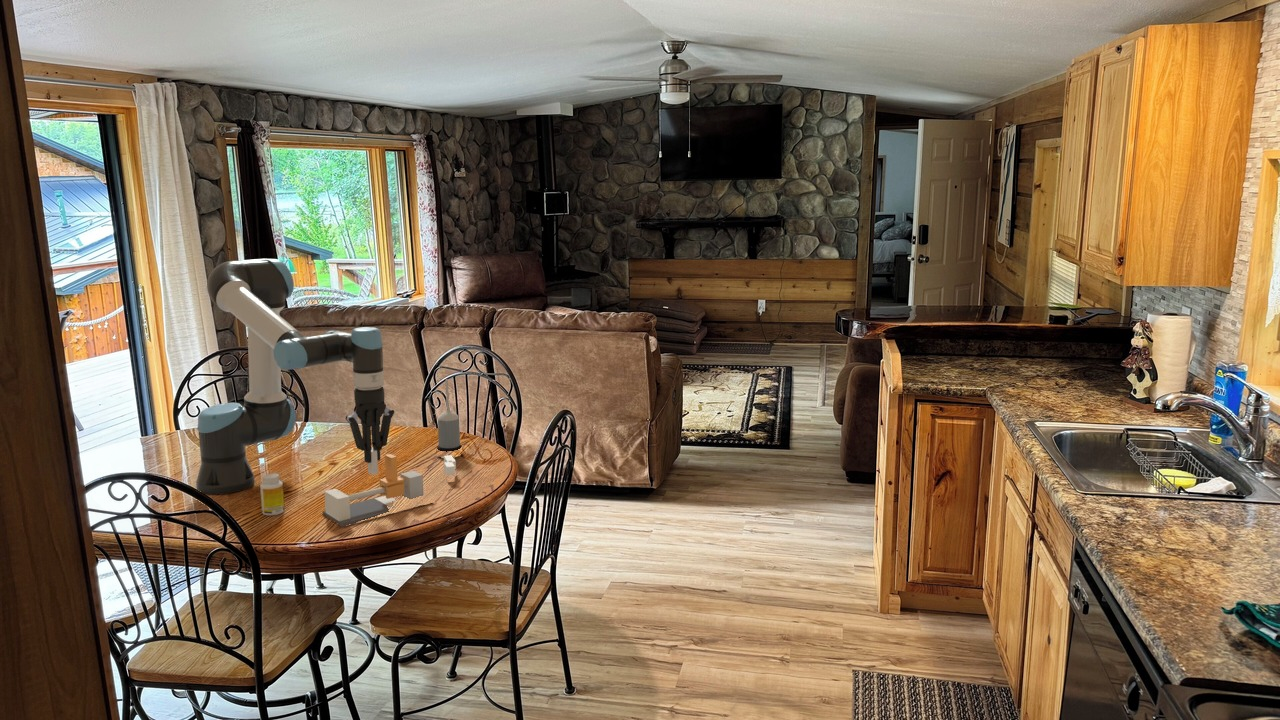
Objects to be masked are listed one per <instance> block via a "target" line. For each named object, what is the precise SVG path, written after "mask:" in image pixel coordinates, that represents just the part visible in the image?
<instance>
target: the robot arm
mask: <svg viewBox="0 0 1280 720" xmlns="http://www.w3.org/2000/svg"><path fill="white" fill-rule="evenodd" d="M293 278H294V277H293V275H292V273H291V270H290V269H289V268H288V266H287V264H286V263H285V262H283V261H281V260H280V259H277V258H254V259H243V260H229V261H225V262H222V263H219V264H218V265H217V266H216V267H214V268H213V269H212V271H211V272H210V273H209V275H208V278H207V280H206V289H207V290H206V291H207V294H208V296H209V299H210V300H211V302H213V304H214V305H216V306H217V308H219V309H220V310H221V311H223V312H226V313H231V314H232V315H233V316H234V317H235V318H236V319H238V320H239V321H240V322H241V323H242V324H244V326H245V327H247V349H248V350H247V351H248V385H249V387H248V389H249V391H248V392H247V393H246V394H245V395H244V397H243V405H242V404H241V403H239V402H226V403H219V404H215V405H211V406H209V407H206V408H204V409H203V410H201V411H200V412H199V414H198V416H197V431H198V440H199V452H200V466H199V469H198V473H197V478H196V481H195V483H196V484H195V485H196V491H197V490H199V491H201V492H202V493H201V494H205V495H226V494H232V493H233V494H234V493H237V492H241V491H245V490H247V489H249V488H251V487H253V486H254V485H255V483H256V481H255V475H254V472H253V470H252V467H251V465H250V463H249V461H248V459H247V452H246V451H247V450H246V447H248V446H252V445H257V444H259V443H265V442H269V441H275V440H278V439H280V438H283V437H286V436H288V435H289V434H290V433H291V432H292V431H293V429H294V428H295V425H296V420H297V419H296V418H297V416H296V410H295V408H294V404H293V402H292V401H291V400H290V399H289V398H288V397H287V396H288V395H287V394H285V392H283V391H282V378H281V377H282V370H284V371H285V370H286V371H288V370H289V371H290V370H300V369H303V368H309V367H314V366H319V365H326V364H331V363H338V362H349V363H352V373H353V387H355V388H354V389H353V391H354V392H353V394H354V396H353V397H354V403H355V405H354V407H353V411H352V413H351V414H350V415H346V416H345V420H346V421H347V422H348V424H349V427H350V429H351V433H352V436H353V440H354V443H355V446H356V449H357V450H360V451H363V456H364V462H365V463H367V473H368V474H369V475H371V476H374V475H379V466H378V465H379V464H378V462H379V461H381V451H382V449H383V447H385V446H387V445H388V438H389V433H390V427H391V421H392V418H393V416H394V415H395V410H394V409H392V408H388V407H387V405H386V403H385V388H384V385H385V381H384V380H385V378H384V355H383V354H384V353H383V349H384V348H383V347H384V346H383V345H384V343H383V337H382V331H381V329H379V328H377V327H368V326H365V327H355V328H353V329H352V330H351V332H346V331H342V330H330V331H326V332H325V333H324V334H319V335H312V336H305V335H303V333H302V332H300V331H299V330H297V328H295V327H294V326H293V325H292V324H290V323H289V322H288V321H287V320H285V319H284V318H283V317H282V316H281V315H280V312H281V311H282V310H283V309H284V308H285V307H286V299H288V298H290V297H291V296H292V295H293V292H294V289H295V285H294V279H293ZM381 418H382V419H381ZM358 419H359V420H360V424H361V429H360V425H359V423H358Z"/></svg>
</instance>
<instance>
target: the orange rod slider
mask: <svg viewBox="0 0 1280 720" xmlns="http://www.w3.org/2000/svg"><path fill="white" fill-rule="evenodd" d="M384 466H385V469H384V470H385V477H384V478H381V479H379V488H381V487H386V492H385V493H381V494H379V495H380V497H381V496H385V495H386V498H387V499H389V498H393V497H397V496H401V495H404V479H403V478H401V476H398V458H397V456H396V455H394V454H391V453H388V454H384Z"/></svg>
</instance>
